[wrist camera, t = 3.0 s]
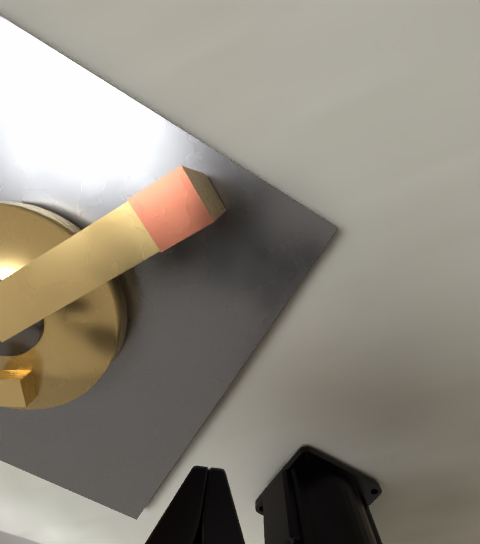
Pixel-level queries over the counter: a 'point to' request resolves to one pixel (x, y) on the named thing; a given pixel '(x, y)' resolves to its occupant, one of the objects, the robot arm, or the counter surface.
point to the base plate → (141, 274)
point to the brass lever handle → (81, 284)
